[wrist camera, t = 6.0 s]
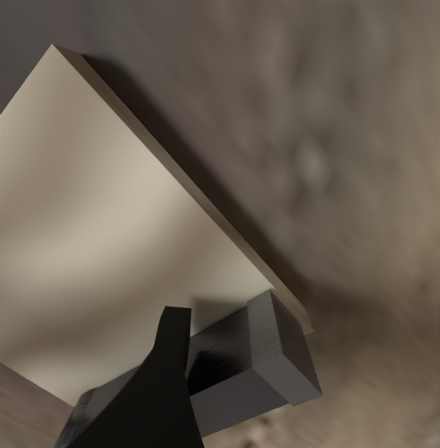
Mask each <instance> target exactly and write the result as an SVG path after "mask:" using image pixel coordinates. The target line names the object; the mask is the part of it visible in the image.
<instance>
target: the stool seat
mask: <svg viewBox="0 0 440 448" xmlns="http://www.w3.org/2000/svg"><path fill="white" fill-rule="evenodd" d="M269 289H270V290H271V291H272V292H273V294H274V295H275V296H276V297H277V298H278V299H279V300H280V302H281V303H282V304H283V305H284V306H285V307H286V308H287V310H288V311H289V312H290V313H291V314H292V315H293V316H294V318H295V319H296V320H297V321H298V322H299V323H300V324H301V327H302V331H303V334H304V336H306V335H308V334H310V333H312V332H314V329H313V327H312V324H311V321H310V318H309V316H308V313H307V310H306V308H305V307H304V306H303V305H302V304H301V303H300V301H299V300H298V299H297V298H296V297H295V296H294V295H293V294H292V292H291V291H290V290H289V289H288V288H287V287H286V286H285V285H284V283H283V282H282V281H281V280H280V279H279V278H278V277H277V276H276V274H275V273H274V272H273V271H272V270H271V269H270V268H269V267H268V265H267V264H266V263H265V262H264V261H263V260H262V259H261V257H260V256H259V255H258V254H257V253H256V252H255V251H254V250H253V248H252V247H251V246H250V245H249V244H248V243H247V242H246V241H245V239H244V238H243V237H242V236H241V235H240V234H239V233H238V232H237V230H236V229H235V228H234V227H233V226H232V225H231V224H230V223H229V221H228V220H227V219H226V218H225V217H224V216H223V215H222V214H221V212H220V211H219V210H218V209H217V208H216V207H215V206H214V205H213V203H212V202H211V201H210V200H209V199H208V198H207V197H206V196H205V194H204V193H203V192H202V191H201V190H200V189H199V188H198V186H197V185H196V184H195V183H194V182H193V181H192V180H191V179H190V177H189V176H188V175H187V174H186V173H185V172H184V171H183V170H182V168H181V167H180V166H179V165H178V164H177V163H176V162H175V161H174V159H173V158H172V157H171V156H170V155H169V154H168V153H167V152H166V150H165V149H164V148H163V147H162V146H161V145H160V144H159V143H158V141H157V140H156V139H155V138H154V137H153V136H152V135H151V134H150V132H149V131H148V130H147V129H146V128H145V127H144V126H143V125H142V123H141V122H140V121H139V120H138V119H137V118H136V117H135V116H134V114H133V113H132V112H131V111H130V110H129V109H128V108H127V106H126V105H125V104H124V103H123V102H122V101H121V100H120V99H119V97H118V96H117V95H116V94H115V93H114V92H113V91H112V90H111V88H110V87H109V86H108V85H107V84H106V83H105V82H104V81H103V79H102V78H101V77H100V76H99V75H98V74H97V73H96V72H95V70H94V69H93V68H92V67H91V66H90V65H89V64H88V63H87V61H86V60H85V59H84V58H83V57H82V56H81V55H80V54H79V53H77V52H74V51H71V50H68V49H65V48H63V47H60V46H57V45H54V44H52V45H51V46H50V48H49V49H48V50H47V52H46V53H45V54H44V56H43V57H42V59H41V60H40V61H39V63H38V64H37V65H36V67H35V68H34V70H33V71H32V72H31V74H30V75H29V76H28V78H27V79H26V81H25V82H24V83H23V85H22V86H21V88H20V89H19V90H18V92H17V93H16V94H15V96H14V97H13V99H12V100H11V101H10V103H9V104H8V105H7V107H6V108H5V110H4V111H3V112H2V114H1V115H0V363H2V364H3V365H5V366H7V367H8V368H10V369H12V370H13V371H15V372H17V373H18V374H20V375H21V376H23V377H25V378H26V379H28V380H30V381H31V382H33V383H35V384H36V385H38V386H40V387H41V388H43V389H45V390H46V391H48V392H50V393H51V394H53V395H55V396H56V397H58V398H60V399H61V400H63V401H65V402H66V403H68V404H70V405H71V406H73V407H75V405H76V403H77V401H78V399H79V397H80V396H81V395H82V394H83V393H85V392H88V391H94V390H96V389H98V388H100V387H102V386H103V385H105V384H107V383H109V382H111V381H112V380H114V379H116V378H118V377H120V376H121V375H123V374H125V373H127V372H129V371H130V370H132V369H134V368H136V367H137V366H139V365H141V364H142V362H143V361H144V359H145V358H146V357H147V355H148V354H149V353H150V351H151V350H152V348H153V347H154V342H155V337H156V333H157V329H158V324H159V320H160V317H161V315H162V312H163V310H164V308H165V306H172V307H184V308H192V313H191V330H190V337H191V336H193V335H195V334H197V333H198V332H200V331H202V330H204V329H206V328H207V327H209V326H211V325H213V324H215V323H216V322H218V321H220V320H222V319H223V318H225V317H227V316H229V315H231V314H232V313H234V312H236V311H238V310H240V309H241V308H243V307H245V306H247V301H249V300H251V299H253V298H254V297H256V296H258V295H260V294H261V293H263V292H265V291H267V290H269Z"/></svg>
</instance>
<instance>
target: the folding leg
mask: <svg viewBox="0 0 440 448" xmlns="http://www.w3.org/2000/svg"><path fill="white" fill-rule="evenodd" d="M139 366H140V365H139ZM139 366H137V367H136V368H134V369H132V370H130V371H129V372H127V373H125V374H123V375H121V376H120V377H118V378H116V379H114V380H112V381H111V382H109V383H107V384H105V385H103V386H102V387H100V388H98V389H96V390H94V391H88V392H85V393H83V394H82V395H81V396H80V397H79V399H78V401H77V403H76V405H75V407H74V409H73V411H72V413H71V415H70V417H69V418H68V420H67V422H66V424H65V426H64V428H63V430H62V432H61V434H60V436H59V438H58V439H57V441H56V443H55V445H54V447H53V448H65V447H66V446H67V445H68V444H69V443H70V442H71V441H72V440H73V439H74V438H75V437H76V436H77V435H78V434H79V433H80V432H81V431H82V430H83V429H84V428H85V427H86V426H87V425H88V424H89V423H90V422H91V421H92V420H93V419H94V418H95V417H96V416H97V415H98V414H99V413H100V412H101V411H102V410H103V409H104V408H105V407H106V406H107V404H108V403H109V402H110V401H111V400H112V399H113V398H114V397H115V396H116V394H117V393H118V392H119V391H120V390H121V389H122V387H123V386H124V385H125V384H126V383H127V382H128V380H129V379H130V378H131V377H132V375H133V374H134V373H135V372H136V370H137V369H138V368H139ZM185 377H186V382H187V387H188V391H189V395H190V400H191V403H192V407H193V411H194V415H195V418H196V422H197V425H198V428H199V432H200V435H201V438H202V437H205V436H207V435H210V434H212V433H215V432H218V431H220V430H223V429H225V428H228V427H230V426H233V425H235V424H238V423H240V422H243V421H245V420H248V419H250V418H253V417H256V416H258V415H261V414H263V413H266V412H268V411H271V410H273V409H276V408H278V407H281V406H283V405H286V404H288V403H290V404H291V405H292V406H293V407H294V406H296V405H299V404H301V403H304V402H307V401H309V400H312V399H314V398H317V397H319V396H322V395H323V394H322V391H321V388H320V385H319V382H318V378H317V375H316V372H315V369H314V366H313V362H312V359H311V356H310V353H309V350H308V347H307V343H306V340H305V337H304V334H303V331H302V327H301V324H300V323H299V322H298V321H297V320H296V319H295V318H294V316H293V315H292V314H291V313H290V312H289V311H288V310H287V308H286V307H285V306H284V305H283V304H282V303H281V302H280V300H279V299H278V298H277V297H276V296H275V295H274V294H273V292H272V291H271V290H270V289H269V290H267V291H265V292H263V293H261V294H260V295H258V296H256V297H254V298H253V299H251V300H249V301H247V306H245V307H243V308H241V309H240V310H238V311H236V312H234V313H232V314H231V315H229V316H227V317H225V318H223V319H222V320H220V321H218V322H216V323H215V324H213V325H211V326H209V327H207V328H206V329H204V330H202V331H200V332H198V333H197V334H195V335H193V336H191V337H190V344H189V352H188V359H187V366H186V371H185Z"/></svg>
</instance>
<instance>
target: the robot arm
mask: <svg viewBox="0 0 440 448" xmlns="http://www.w3.org/2000/svg"><path fill="white" fill-rule="evenodd" d="M191 313H192V308H184V307H172V306H165V308H164V310H163V312H162V315H161V317H160V320H159V324H158V329H157V333H156V337H155V342H154V347H153V348H152V350H151V351H150V353H149V354H148V355H147V357H146V358H145V359H144V361H143V362H142V364H141V365H140V366H139V368H138V369H137V370H136V372H135V373H134V374H133V375H132V377H131V378H130V379H129V380H128V382H127V383H126V384H125V385H124V386H123V387H122V389H121V390H120V391H119V392H118V393H117V394H116V396H115V397H114V398H113V399H112V400H111V401H110V402H109V403H108V404H107V406H106V407H105V408H104V409H103V410H102V411H101V412H100V413H99V414H98V415H97V416H96V417H95V418H94V419H93V420H92V421H91V422H90V423H89V424H88V425H87V426H86V427H85V428H84V429H83V430H82V431H81V432H80V433H79V434H78V435H77V436H76V437H75V438H74V439H73V440H72V441H71V442H70V443H69V444H68V445H67V446H66V447H65V448H204V445H203V442H202V438H201V435H200V432H199V428H198V425H197V422H196V418H195V415H194V411H193V407H192V403H191V400H190V395H189V391H188V387H187V382H186V377H185V371H186V366H187V359H188V352H189V344H190V330H191Z"/></svg>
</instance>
